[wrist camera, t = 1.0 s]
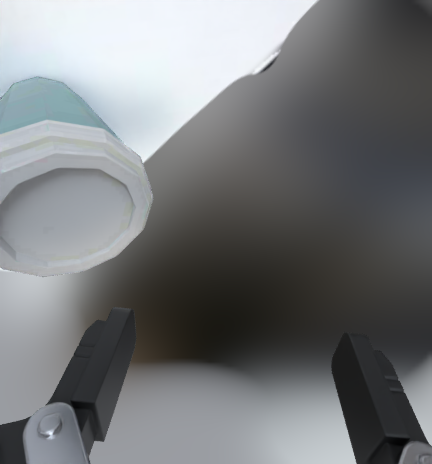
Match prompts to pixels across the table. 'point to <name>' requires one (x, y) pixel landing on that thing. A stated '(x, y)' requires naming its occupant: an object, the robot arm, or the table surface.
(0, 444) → the robot arm
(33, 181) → the disposable coffee cup
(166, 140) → the table surface
